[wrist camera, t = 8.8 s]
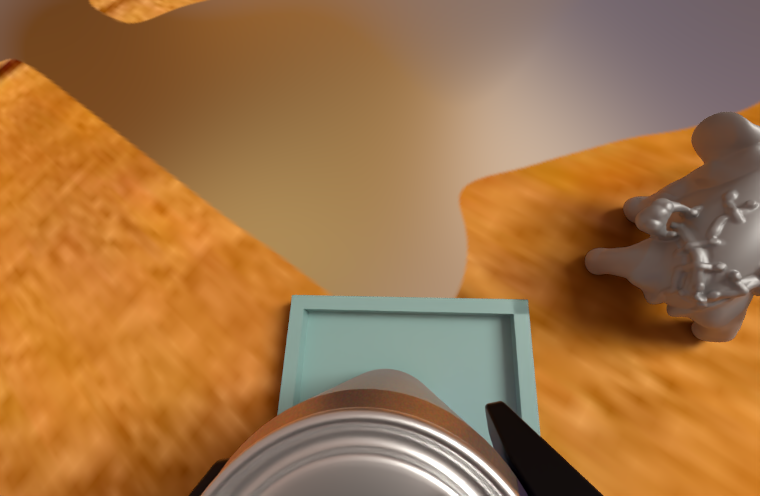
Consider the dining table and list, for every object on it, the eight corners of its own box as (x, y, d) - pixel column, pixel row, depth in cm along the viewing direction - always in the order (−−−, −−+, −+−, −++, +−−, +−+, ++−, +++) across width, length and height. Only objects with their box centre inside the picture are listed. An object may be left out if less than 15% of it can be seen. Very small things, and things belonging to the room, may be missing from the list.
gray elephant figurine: (568, 304, 21) (643, 281, 14) (606, 132, 24) (686, 36, 16) (746, 357, 19) (941, 364, 12) (766, 165, 22) (937, 73, 15)
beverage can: (466, 447, 18) (726, 772, 4) (368, 521, 17) (248, 1255, 3) (401, 346, 20) (417, 315, 6) (308, 409, 19) (51, 563, 5)
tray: (544, 590, 17) (556, 612, 15) (271, 558, 18) (257, 575, 17) (520, 304, 21) (527, 299, 20) (301, 300, 23) (292, 294, 21)
